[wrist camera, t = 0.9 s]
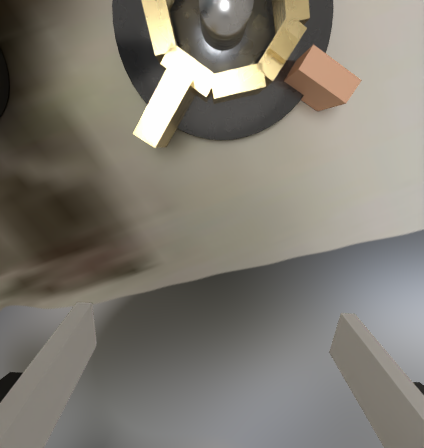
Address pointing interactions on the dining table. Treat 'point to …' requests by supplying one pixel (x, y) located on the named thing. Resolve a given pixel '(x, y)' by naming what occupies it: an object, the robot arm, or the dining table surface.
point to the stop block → (321, 80)
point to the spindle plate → (219, 57)
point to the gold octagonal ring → (201, 76)
